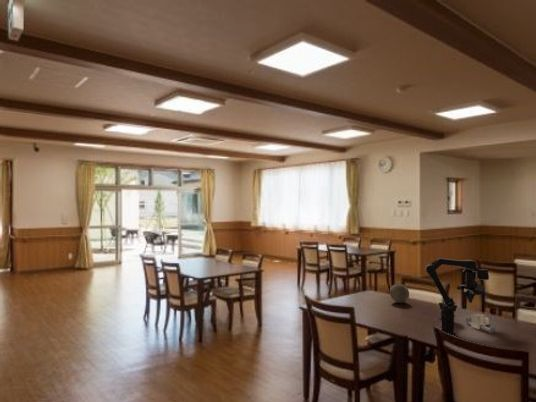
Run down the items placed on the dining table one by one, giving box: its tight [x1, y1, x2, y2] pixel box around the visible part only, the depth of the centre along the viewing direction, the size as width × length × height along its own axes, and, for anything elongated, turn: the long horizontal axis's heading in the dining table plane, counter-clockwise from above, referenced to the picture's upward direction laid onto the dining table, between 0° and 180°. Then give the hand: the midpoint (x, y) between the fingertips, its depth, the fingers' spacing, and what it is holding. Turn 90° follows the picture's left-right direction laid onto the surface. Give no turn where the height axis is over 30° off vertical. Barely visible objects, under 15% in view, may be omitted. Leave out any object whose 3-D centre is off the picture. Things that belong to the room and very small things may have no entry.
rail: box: [465, 317, 497, 335], centre depth 254 cm, size 3×20×4 cm, turn 17°
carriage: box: [471, 313, 487, 330], centre depth 256 cm, size 6×5×8 cm
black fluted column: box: [438, 302, 458, 338], centre depth 235 cm, size 8×8×20 cm
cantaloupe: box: [389, 283, 410, 304], centre depth 316 cm, size 14×14×15 cm
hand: (470, 302), depth 267 cm, fingers closed
